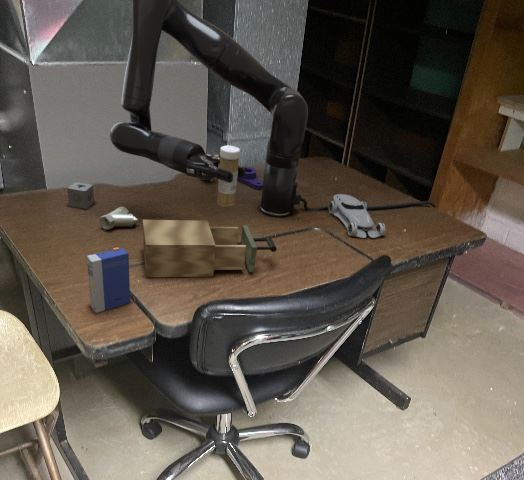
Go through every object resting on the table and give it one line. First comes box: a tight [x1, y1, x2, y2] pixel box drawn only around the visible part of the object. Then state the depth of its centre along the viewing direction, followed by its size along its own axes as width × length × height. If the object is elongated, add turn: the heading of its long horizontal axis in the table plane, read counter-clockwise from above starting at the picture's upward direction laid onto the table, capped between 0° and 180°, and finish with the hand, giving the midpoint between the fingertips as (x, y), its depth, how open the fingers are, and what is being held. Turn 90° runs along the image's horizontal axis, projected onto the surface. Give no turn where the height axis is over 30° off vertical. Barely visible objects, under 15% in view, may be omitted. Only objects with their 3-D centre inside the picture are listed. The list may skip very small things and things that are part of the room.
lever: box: [237, 166, 263, 190], centre depth 182 cm, size 12×6×3 cm, turn 36°
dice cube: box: [67, 181, 95, 210], centre depth 153 cm, size 5×5×5 cm
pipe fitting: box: [99, 206, 138, 231], centre depth 145 cm, size 8×4×7 cm
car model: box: [328, 193, 386, 239], centre depth 165 cm, size 11×24×5 cm, turn 14°
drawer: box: [209, 224, 278, 273], centre depth 135 cm, size 20×12×6 cm, turn 102°
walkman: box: [86, 247, 131, 313], centre depth 113 cm, size 8×3×12 cm, turn 130°
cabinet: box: [142, 219, 215, 278], centre depth 132 cm, size 15×13×8 cm
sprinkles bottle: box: [216, 145, 241, 208], centre depth 132 cm, size 5×5×13 cm
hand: (237, 175), depth 130 cm, fingers closed on sprinkles bottle, 4 cm apart
